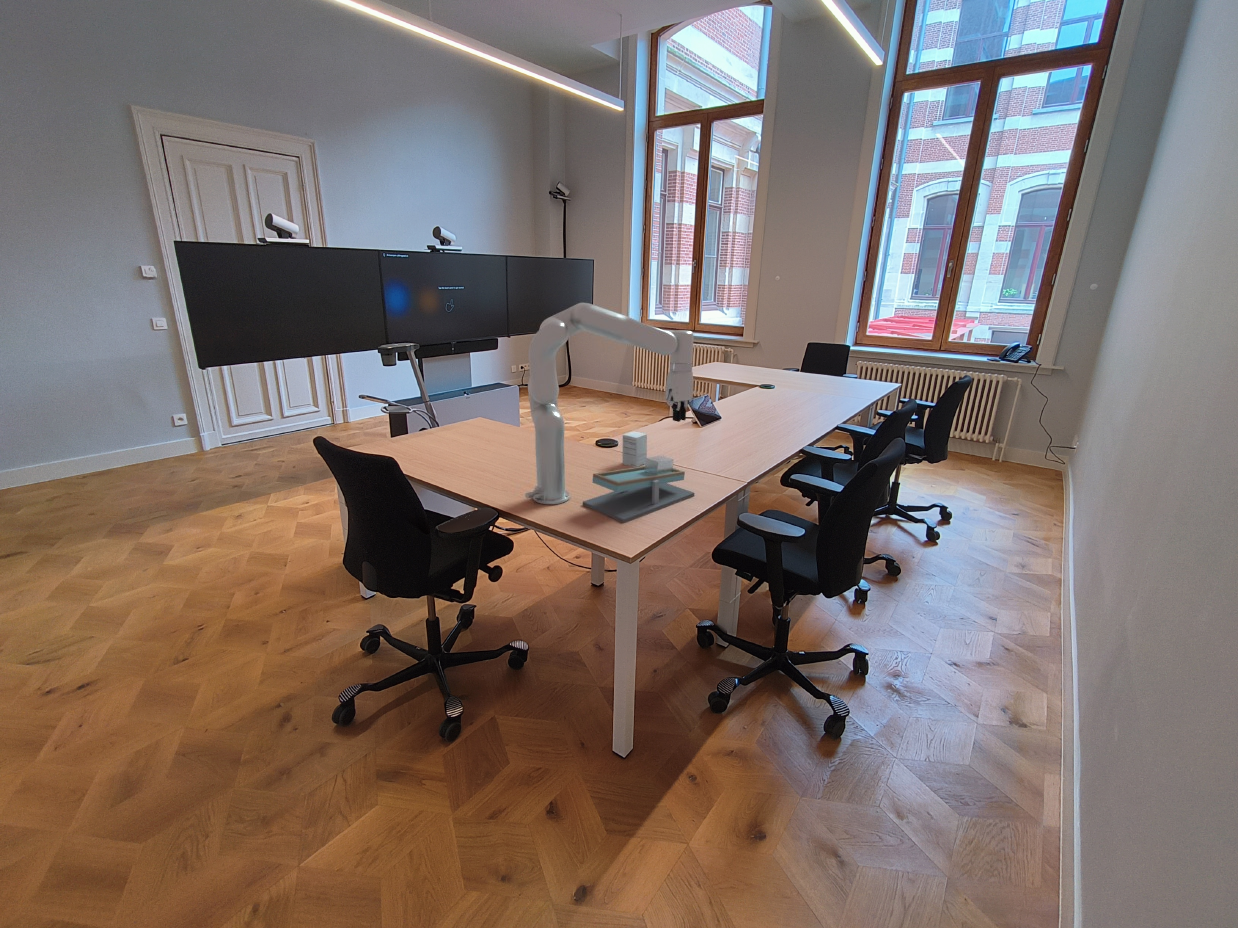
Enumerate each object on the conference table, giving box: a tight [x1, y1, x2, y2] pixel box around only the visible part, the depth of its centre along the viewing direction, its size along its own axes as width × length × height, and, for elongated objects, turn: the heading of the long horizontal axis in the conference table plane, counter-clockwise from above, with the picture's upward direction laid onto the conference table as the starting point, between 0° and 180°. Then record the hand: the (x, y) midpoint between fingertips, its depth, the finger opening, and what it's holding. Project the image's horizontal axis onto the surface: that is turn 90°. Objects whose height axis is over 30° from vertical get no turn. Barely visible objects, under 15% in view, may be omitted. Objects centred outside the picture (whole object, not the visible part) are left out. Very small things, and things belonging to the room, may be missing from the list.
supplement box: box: [622, 431, 648, 468], centre depth 228 cm, size 7×7×13 cm
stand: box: [582, 480, 695, 524], centre depth 190 cm, size 34×20×9 cm, turn 133°
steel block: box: [644, 455, 675, 476], centre depth 194 cm, size 8×6×5 cm
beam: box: [592, 465, 686, 492], centre depth 189 cm, size 32×12×3 cm, turn 133°
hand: (679, 420), depth 196 cm, fingers closed
